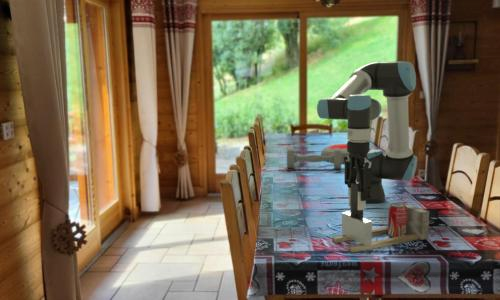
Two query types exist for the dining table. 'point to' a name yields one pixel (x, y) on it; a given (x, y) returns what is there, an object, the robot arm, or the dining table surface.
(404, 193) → the dining table surface
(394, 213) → the soda can
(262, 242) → the dining table surface
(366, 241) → the vice jaw
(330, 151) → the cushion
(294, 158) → the dumbbell
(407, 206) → the base
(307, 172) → the dining table surface
